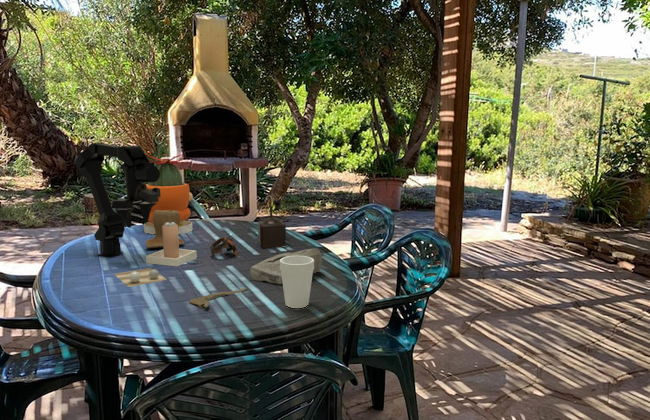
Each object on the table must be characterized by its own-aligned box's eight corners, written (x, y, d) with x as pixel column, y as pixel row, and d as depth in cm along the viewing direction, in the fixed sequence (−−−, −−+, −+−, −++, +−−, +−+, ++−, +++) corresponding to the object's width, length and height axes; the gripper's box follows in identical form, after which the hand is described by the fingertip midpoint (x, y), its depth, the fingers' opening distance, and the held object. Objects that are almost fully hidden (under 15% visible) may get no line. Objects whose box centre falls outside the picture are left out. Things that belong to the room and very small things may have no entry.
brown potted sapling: (287, 247, 203) (287, 203, 200) (260, 248, 200) (260, 204, 197) (281, 238, 218) (281, 197, 215) (256, 239, 215) (255, 198, 212)
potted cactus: (148, 227, 238) (144, 153, 231) (196, 226, 240) (193, 153, 234) (136, 237, 216) (132, 156, 210) (189, 236, 219) (186, 156, 213)
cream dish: (146, 264, 177) (145, 256, 176) (167, 255, 189) (167, 247, 188) (177, 267, 173) (176, 259, 173) (196, 258, 185) (196, 250, 184)
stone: (294, 290, 153) (326, 272, 170) (294, 260, 151) (327, 245, 168) (247, 280, 162) (282, 264, 179) (246, 251, 160) (282, 238, 177)
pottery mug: (237, 261, 184) (225, 243, 181) (216, 270, 186) (204, 253, 183) (243, 245, 195) (232, 228, 192) (223, 254, 197) (212, 237, 194)
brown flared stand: (179, 241, 211) (178, 206, 209) (186, 247, 201) (185, 210, 198) (142, 244, 204) (140, 208, 202) (146, 251, 194) (144, 213, 191)
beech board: (113, 275, 164) (113, 273, 164) (150, 269, 171) (150, 267, 171) (128, 288, 151) (128, 286, 151) (167, 281, 159) (167, 279, 159)
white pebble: (126, 283, 155) (126, 272, 154) (134, 279, 158) (133, 269, 157) (136, 284, 154) (135, 273, 153) (143, 281, 157) (142, 270, 156)
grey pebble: (147, 279, 159) (146, 270, 158) (153, 276, 161) (152, 267, 161) (155, 280, 158) (154, 271, 157) (160, 277, 161) (160, 268, 160)
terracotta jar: (164, 261, 177) (162, 224, 175) (163, 257, 183) (162, 221, 180) (179, 260, 179) (178, 223, 177) (179, 256, 184) (177, 220, 182)
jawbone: (180, 309, 138) (180, 302, 138) (225, 288, 156) (225, 282, 156) (206, 312, 134) (206, 305, 134) (249, 290, 152) (249, 284, 152)
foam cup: (280, 299, 144) (280, 255, 141) (312, 298, 145) (312, 255, 142) (280, 311, 134) (280, 265, 132) (314, 311, 135) (314, 264, 133)
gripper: (136, 184, 165) (140, 230, 167) (169, 179, 182) (172, 221, 185) (108, 184, 168) (112, 230, 170) (143, 179, 186) (147, 220, 188)
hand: (138, 225), depth 178 cm, fingers open, 9 cm apart
